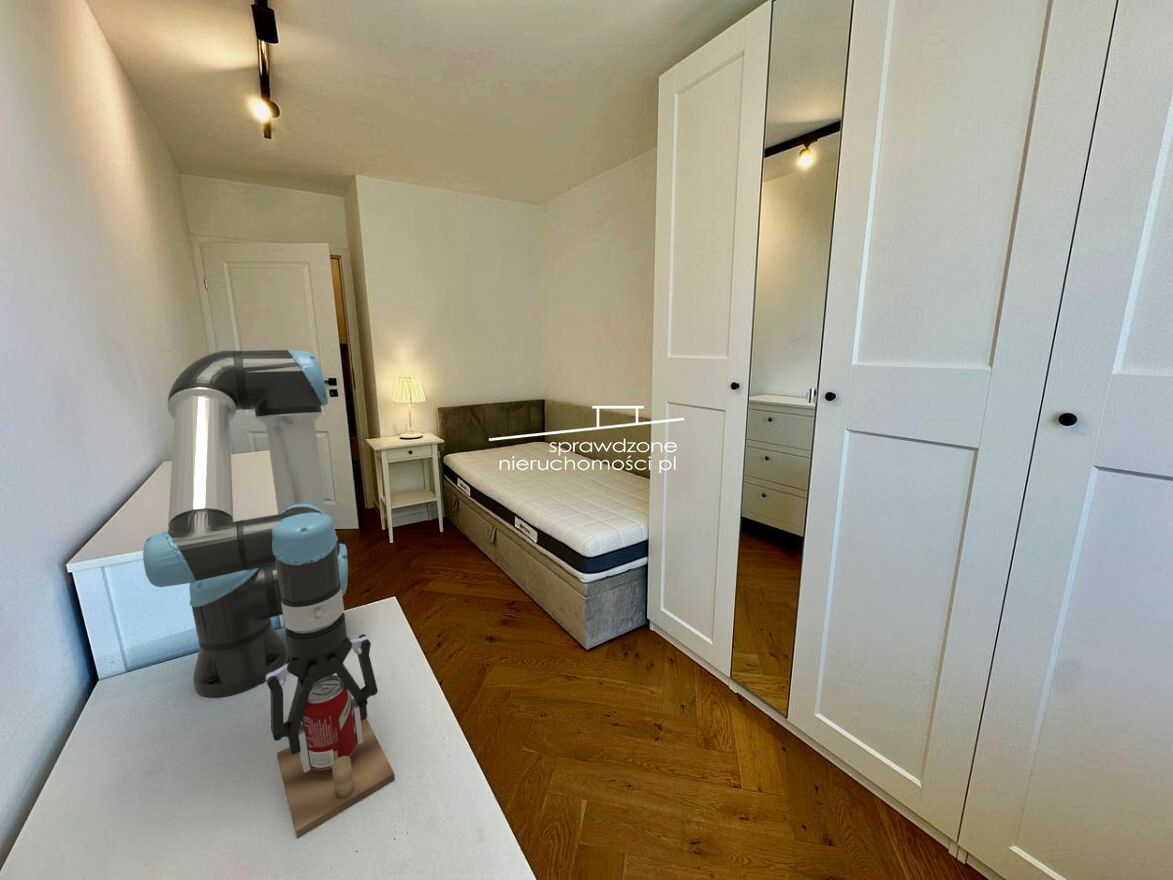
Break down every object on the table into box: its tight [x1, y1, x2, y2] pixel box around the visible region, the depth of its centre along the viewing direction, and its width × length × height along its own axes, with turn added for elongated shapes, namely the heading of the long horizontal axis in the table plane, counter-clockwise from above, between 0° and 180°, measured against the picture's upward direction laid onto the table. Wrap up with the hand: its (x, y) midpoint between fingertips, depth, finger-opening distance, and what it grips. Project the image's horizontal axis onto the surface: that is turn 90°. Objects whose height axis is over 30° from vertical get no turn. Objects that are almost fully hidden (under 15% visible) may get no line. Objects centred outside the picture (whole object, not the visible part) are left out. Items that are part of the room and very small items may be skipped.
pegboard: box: [276, 718, 396, 839], centre depth 72 cm, size 16×13×6 cm
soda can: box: [301, 674, 357, 770], centre depth 71 cm, size 7×7×12 cm
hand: (332, 750), depth 72 cm, fingers closed on soda can, 7 cm apart
